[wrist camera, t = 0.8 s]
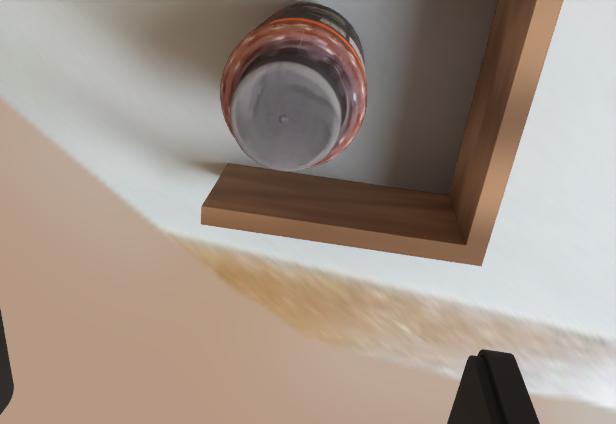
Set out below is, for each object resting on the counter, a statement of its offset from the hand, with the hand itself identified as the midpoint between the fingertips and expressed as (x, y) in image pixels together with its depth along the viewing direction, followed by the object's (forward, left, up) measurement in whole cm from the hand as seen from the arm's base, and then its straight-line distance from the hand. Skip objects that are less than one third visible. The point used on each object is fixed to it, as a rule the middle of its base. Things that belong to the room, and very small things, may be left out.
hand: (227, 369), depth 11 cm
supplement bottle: (-2, -1, -22) cm, 22 cm away
